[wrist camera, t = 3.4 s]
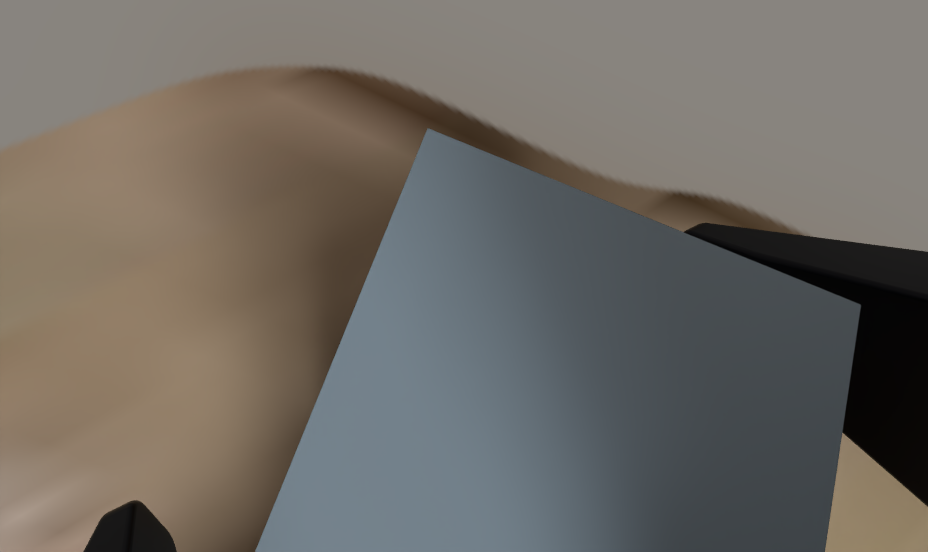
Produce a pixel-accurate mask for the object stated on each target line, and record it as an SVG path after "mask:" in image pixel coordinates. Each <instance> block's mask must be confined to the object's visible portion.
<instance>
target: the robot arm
mask: <svg viewBox="0 0 928 552" xmlns="http://www.w3.org/2000/svg"><path fill="white" fill-rule="evenodd" d="M684 233H686V234H689V235H691V236H693V237H696V238H698V239H701V240H703V241H706V242H708V243H711V244H713V245H716V246H718V247H720V248H723V249H725V250H728V251H730V252H733V253H735V254H738V255H740V256H742V257H745V258H747V259H750V260H752V261H755V262H757V263H760V264H762V265H765V266H767V267H769V268H772V269H774V270H777V271H779V272H782V273H784V274H787V275H789V276H792V277H794V278H796V279H799V280H801V281H804V282H806V283H809V284H811V285H814V286H816V287H819V288H821V289H823V290H826V291H828V292H831V293H833V294H836V295H838V296H841V297H843V298H845V299H848V300H850V301H853V302H855V303H858V304H860V305H861V308H860V315H859V321H858V328H857V335H856V342H855V349H854V356H853V362H852V369H851V376H850V383H849V390H848V397H847V403H846V410H845V417H844V424H843V431H842V433H844V434H845V435H846V436H847V437H848V438H849V439H850V440H852V441H853V442H854V443H855V444H856V445H857V446H859V447H860V448H861V449H862V450H863V451H864V452H865V453H867V454H868V455H869V456H870V457H871V458H872V459H873V460H875V461H876V462H877V463H878V464H879V465H880V466H882V467H883V468H884V469H885V470H886V471H887V472H888V473H890V474H891V475H892V476H893V477H894V478H895V479H897V480H898V481H899V482H900V483H901V484H902V485H903V486H905V487H906V488H907V489H908V490H909V491H910V492H911V493H913V494H914V495H915V496H916V497H917V498H918V499H920V500H921V501H922V502H923V503H924V504H925V505H926V506H928V252H924V251H917V250H909V249H902V248H893V247H886V246H878V245H870V244H863V243H855V242H848V241H840V240H832V239H825V238H817V237H810V236H802V235H794V234H787V233H779V232H771V231H764V230H756V229H748V228H741V227H733V226H726V225H718V224H710V223H701V224H698V225H696V226H694V227H692V228H690V229H688V230H686V231H684ZM83 552H177V551H176V547H175V544H174V541H173V539H172V537H171V535H170V533H169V532H168V531H167V529H166V528H165V527H164V526H163V525H162V524H161V523H160V522H159V520H158V519H157V518H156V517H155V516H154V515H153V514H152V513H151V512H150V510H149V509H148V508H147V507H146V506H145V505H144V504H143V503H142V502H140V501H138V500H134V501H130V502H128V503H126V504H124V505H122V506H120V507H118V508H116V509H114V510H112V511H110V512H108V513H106V514H105V515H104V516H103V517H102V518H101V520H100V521H99V523H98V525H97V527H96V529H95V531H94V533H93V534H92V536H91V538H90V540H89V542H88V544H87V546H86V548H85V550H84V551H83Z"/></svg>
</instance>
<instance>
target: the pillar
mask: <svg viewBox="0 0 928 552" xmlns="http://www.w3.org/2000/svg"><path fill="white" fill-rule="evenodd" d="M860 308H861V305H860V304H858V303H855V302H853V301H850V300H848V299H845V298H843V297H841V296H838V295H836V294H833V293H831V292H828V291H826V290H823V289H821V288H819V287H816V286H814V285H811V284H809V283H806V282H804V281H801V280H799V279H796V278H794V277H792V276H789V275H787V274H784V273H782V272H779V271H777V270H774V269H772V268H769V267H767V266H765V265H762V264H760V263H757V262H755V261H752V260H750V259H747V258H745V257H742V256H740V255H738V254H735V253H733V252H730V251H728V250H725V249H723V248H720V247H718V246H716V245H713V244H711V243H708V242H706V241H703V240H701V239H698V238H696V237H693V236H691V235H689V234H686V233H684V232H681V231H679V230H676V229H674V228H671V227H669V226H666V225H664V224H662V223H659V222H657V221H654V220H652V219H649V218H647V217H644V216H642V215H639V214H637V213H635V212H632V211H630V210H627V209H625V208H622V207H620V206H617V205H615V204H613V203H610V202H608V201H605V200H603V199H600V198H598V197H595V196H593V195H590V194H588V193H586V192H583V191H581V190H578V189H576V188H573V187H571V186H568V185H566V184H563V183H561V182H559V181H556V180H554V179H551V178H549V177H546V176H544V175H541V174H539V173H536V172H534V171H532V170H529V169H527V168H524V167H522V166H519V165H517V164H514V163H512V162H510V161H507V160H505V159H502V158H500V157H497V156H495V155H492V154H490V153H487V152H485V151H483V150H480V149H478V148H475V147H473V146H470V145H468V144H465V143H463V142H460V141H458V140H456V139H453V138H451V137H448V136H446V135H443V134H441V133H438V132H436V131H433V130H431V129H429V128H428V129H427V131H426V134H425V136H424V138H423V141H422V143H421V146H420V148H419V151H418V153H417V156H416V158H415V161H414V163H413V165H412V168H411V170H410V173H409V175H408V178H407V180H406V183H405V185H404V188H403V190H402V192H401V195H400V197H399V200H398V202H397V205H396V207H395V210H394V212H393V215H392V217H391V219H390V222H389V224H388V227H387V229H386V232H385V234H384V237H383V239H382V242H381V244H380V246H379V249H378V251H377V254H376V256H375V259H374V261H373V264H372V266H371V269H370V271H369V273H368V276H367V278H366V281H365V283H364V286H363V288H362V291H361V293H360V296H359V298H358V300H357V303H356V305H355V308H354V310H353V313H352V315H351V318H350V320H349V323H348V325H347V327H346V330H345V332H344V335H343V337H342V340H341V342H340V345H339V347H338V350H337V352H336V354H335V357H334V359H333V362H332V364H331V367H330V369H329V372H328V374H327V377H326V379H325V381H324V384H323V386H322V389H321V391H320V394H319V396H318V399H317V401H316V404H315V406H314V408H313V411H312V413H311V416H310V418H309V421H308V423H307V426H306V428H305V431H304V433H303V435H302V438H301V440H300V443H299V445H298V448H297V450H296V453H295V455H294V458H293V460H292V462H291V465H290V467H289V470H288V472H287V475H286V477H285V480H284V482H283V485H282V487H281V489H280V492H279V494H278V497H277V499H276V502H275V504H274V507H273V509H272V512H271V514H270V516H269V519H268V521H267V524H266V526H265V529H264V531H263V534H262V536H261V539H260V541H259V543H258V546H257V548H256V551H255V552H825V547H826V540H827V533H828V526H829V519H830V513H831V506H832V499H833V492H834V485H835V479H836V472H837V465H838V458H839V451H840V444H841V438H842V431H843V424H844V417H845V410H846V403H847V397H848V390H849V383H850V376H851V369H852V362H853V356H854V349H855V342H856V335H857V328H858V321H859V315H860Z"/></svg>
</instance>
